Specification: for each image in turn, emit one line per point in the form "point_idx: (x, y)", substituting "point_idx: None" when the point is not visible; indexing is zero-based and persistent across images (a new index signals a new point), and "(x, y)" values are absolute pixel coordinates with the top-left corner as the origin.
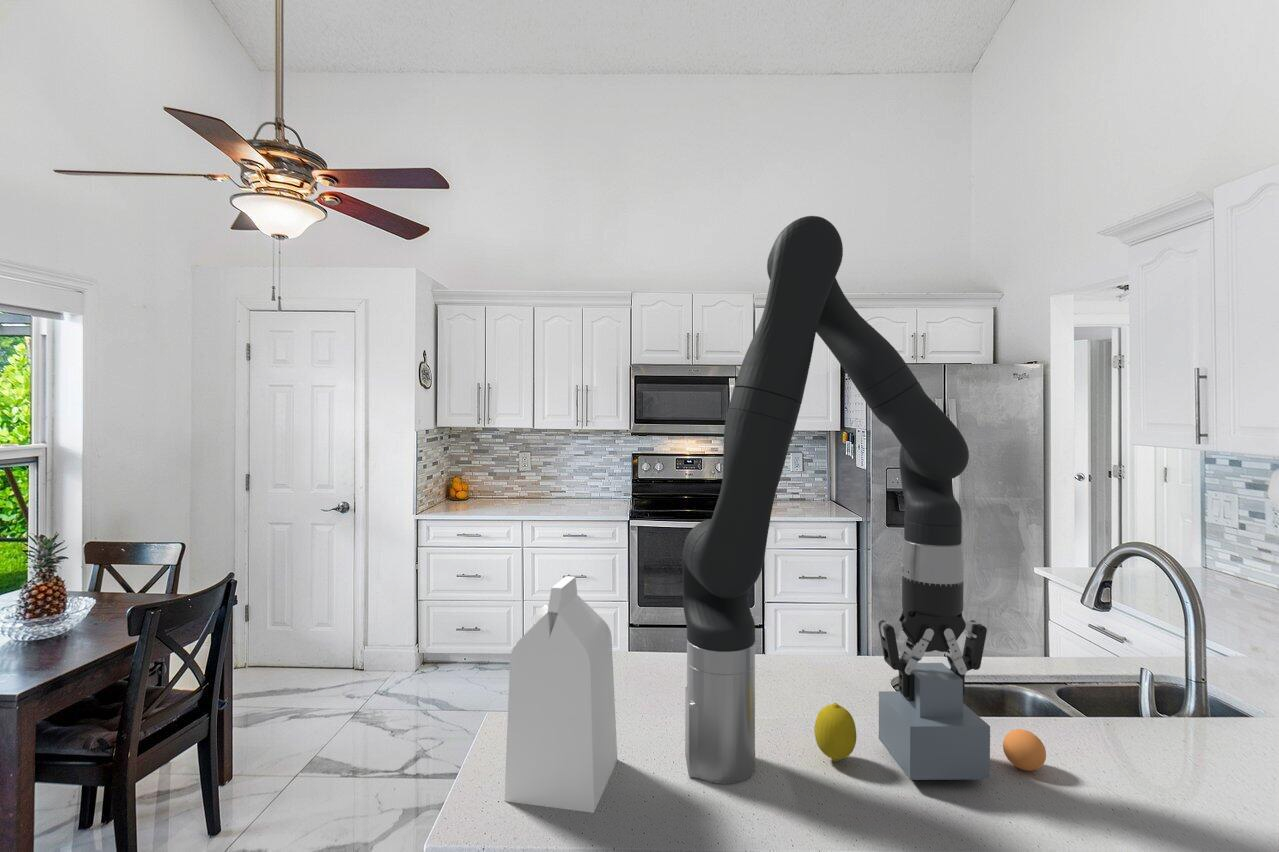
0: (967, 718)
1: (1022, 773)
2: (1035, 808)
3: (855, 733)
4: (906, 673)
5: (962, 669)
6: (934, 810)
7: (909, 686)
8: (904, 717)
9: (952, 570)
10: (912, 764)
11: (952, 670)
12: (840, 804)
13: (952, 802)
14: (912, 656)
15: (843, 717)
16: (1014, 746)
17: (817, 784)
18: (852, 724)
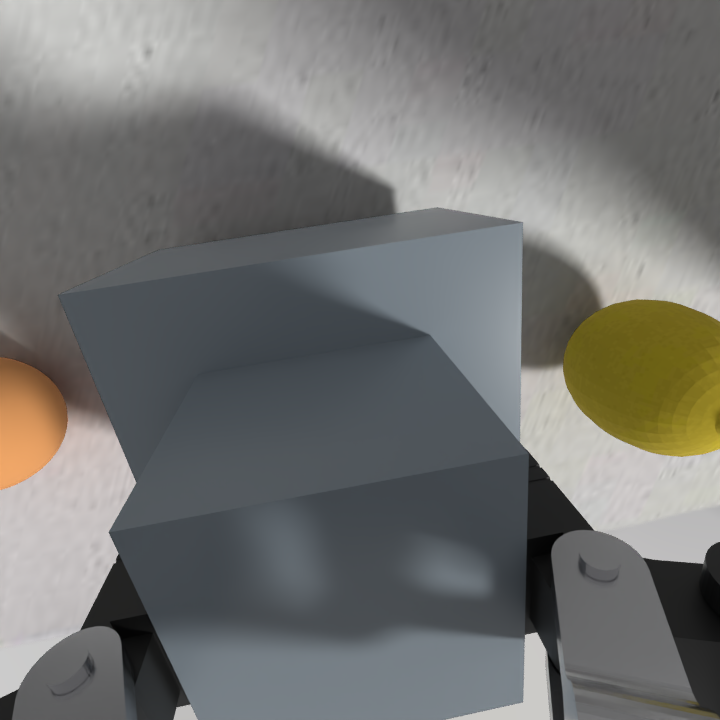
0: (173, 369)
1: (37, 362)
2: (37, 154)
3: (606, 352)
4: (603, 536)
5: (68, 675)
6: (385, 97)
7: None
8: (510, 323)
9: None
10: (444, 211)
11: (168, 678)
12: (664, 97)
13: (312, 156)
14: (709, 714)
15: (705, 365)
16: (10, 401)
17: (685, 205)
18: (643, 362)
